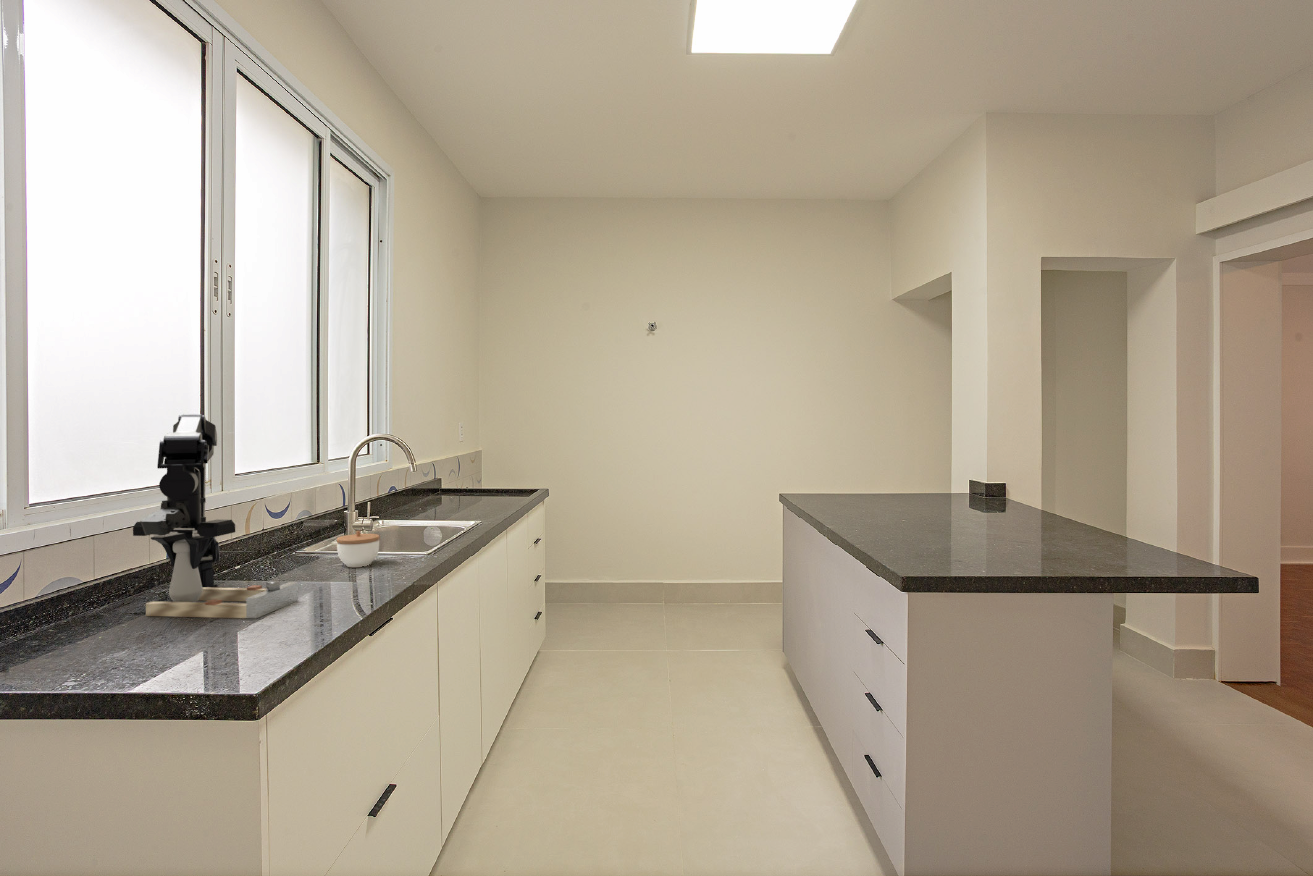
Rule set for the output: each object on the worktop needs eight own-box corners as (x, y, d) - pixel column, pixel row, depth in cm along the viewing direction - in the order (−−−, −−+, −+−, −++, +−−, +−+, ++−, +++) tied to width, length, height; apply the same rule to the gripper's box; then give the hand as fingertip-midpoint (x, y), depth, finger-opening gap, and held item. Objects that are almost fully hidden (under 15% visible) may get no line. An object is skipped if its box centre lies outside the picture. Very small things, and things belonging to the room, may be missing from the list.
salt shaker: (184, 606, 132) (183, 543, 132) (161, 604, 133) (160, 542, 133) (209, 598, 138) (208, 538, 138) (187, 597, 139) (186, 537, 139)
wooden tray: (144, 616, 129) (144, 588, 129) (198, 598, 143) (197, 573, 142) (256, 618, 127) (255, 590, 127) (299, 600, 141) (299, 574, 140)
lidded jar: (337, 571, 169) (336, 535, 169) (336, 563, 178) (336, 529, 178) (381, 566, 174) (381, 532, 174) (378, 559, 183) (378, 526, 183)
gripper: (107, 498, 128) (108, 576, 128) (194, 499, 126) (196, 578, 127) (155, 492, 139) (156, 564, 139) (236, 493, 137) (237, 566, 138)
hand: (185, 568), depth 135 cm, fingers closed on salt shaker, 4 cm apart
